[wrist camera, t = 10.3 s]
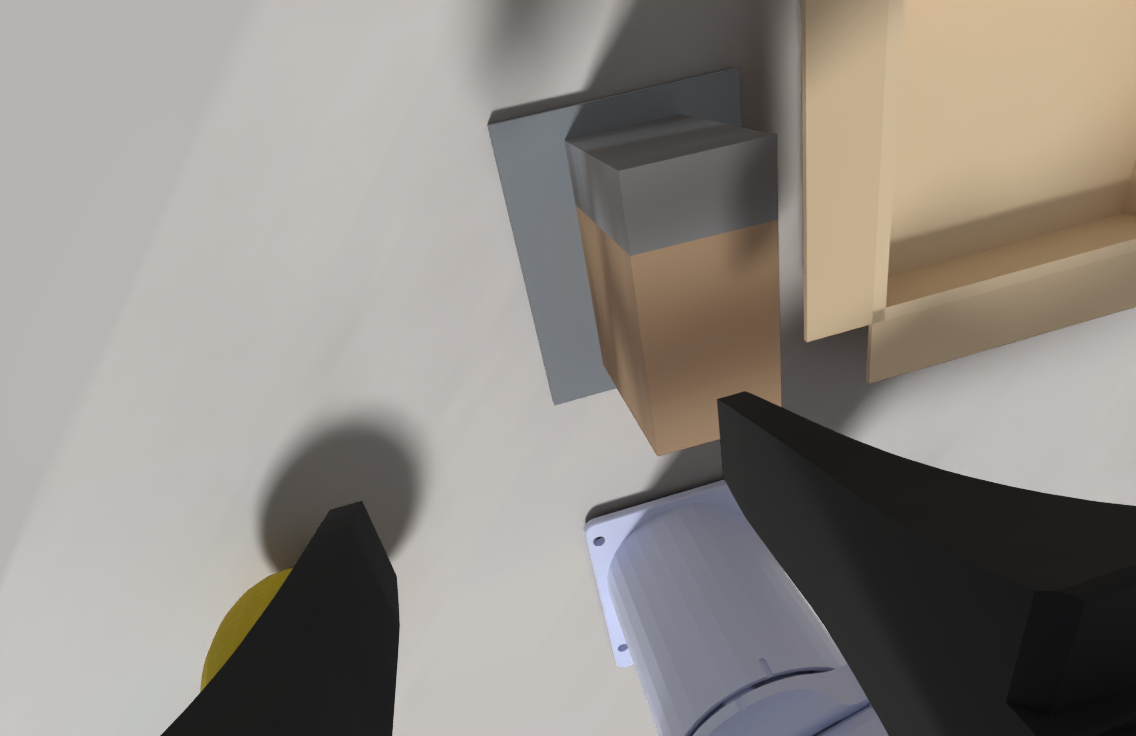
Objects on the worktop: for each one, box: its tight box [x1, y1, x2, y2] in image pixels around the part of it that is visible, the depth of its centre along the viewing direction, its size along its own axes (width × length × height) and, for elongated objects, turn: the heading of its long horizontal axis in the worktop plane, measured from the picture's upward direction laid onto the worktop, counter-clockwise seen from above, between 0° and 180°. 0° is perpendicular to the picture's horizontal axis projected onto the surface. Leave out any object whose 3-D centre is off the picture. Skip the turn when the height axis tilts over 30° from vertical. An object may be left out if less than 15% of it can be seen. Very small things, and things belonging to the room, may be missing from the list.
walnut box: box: [564, 114, 781, 456], centre depth 18 cm, size 8×4×6 cm, turn 10°
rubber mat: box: [487, 68, 742, 405], centre depth 21 cm, size 10×8×1 cm
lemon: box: [201, 568, 293, 691], centre depth 21 cm, size 6×6×8 cm
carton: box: [802, 0, 1136, 384], centre depth 21 cm, size 16×18×2 cm
